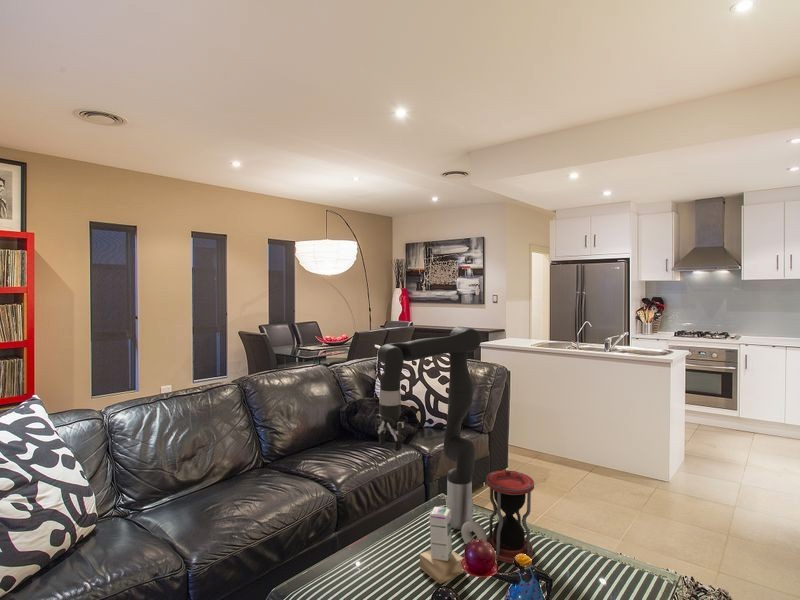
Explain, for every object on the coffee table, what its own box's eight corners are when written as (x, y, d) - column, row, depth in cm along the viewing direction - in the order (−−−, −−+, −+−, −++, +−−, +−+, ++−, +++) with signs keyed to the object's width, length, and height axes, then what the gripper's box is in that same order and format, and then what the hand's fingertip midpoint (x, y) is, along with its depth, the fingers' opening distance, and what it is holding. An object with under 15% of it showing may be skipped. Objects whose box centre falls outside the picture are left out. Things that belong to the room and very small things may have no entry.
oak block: (442, 558, 161) (443, 544, 161) (463, 573, 153) (463, 558, 153) (419, 569, 155) (419, 554, 155) (440, 585, 147) (440, 569, 147)
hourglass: (541, 549, 166) (542, 478, 165) (518, 570, 154) (520, 494, 153) (500, 532, 177) (501, 466, 176) (476, 550, 165) (477, 479, 164)
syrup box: (448, 561, 150) (447, 515, 150) (430, 558, 152) (429, 513, 152) (452, 552, 156) (451, 508, 156) (434, 549, 158) (434, 505, 158)
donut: (459, 546, 168) (459, 518, 168) (464, 542, 171) (465, 514, 170) (483, 557, 161) (483, 528, 161) (488, 553, 164) (489, 524, 163)
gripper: (411, 404, 165) (411, 450, 166) (385, 396, 176) (385, 439, 177) (395, 408, 160) (394, 455, 161) (369, 399, 171) (369, 444, 172)
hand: (389, 447), depth 169 cm, fingers open, 8 cm apart
